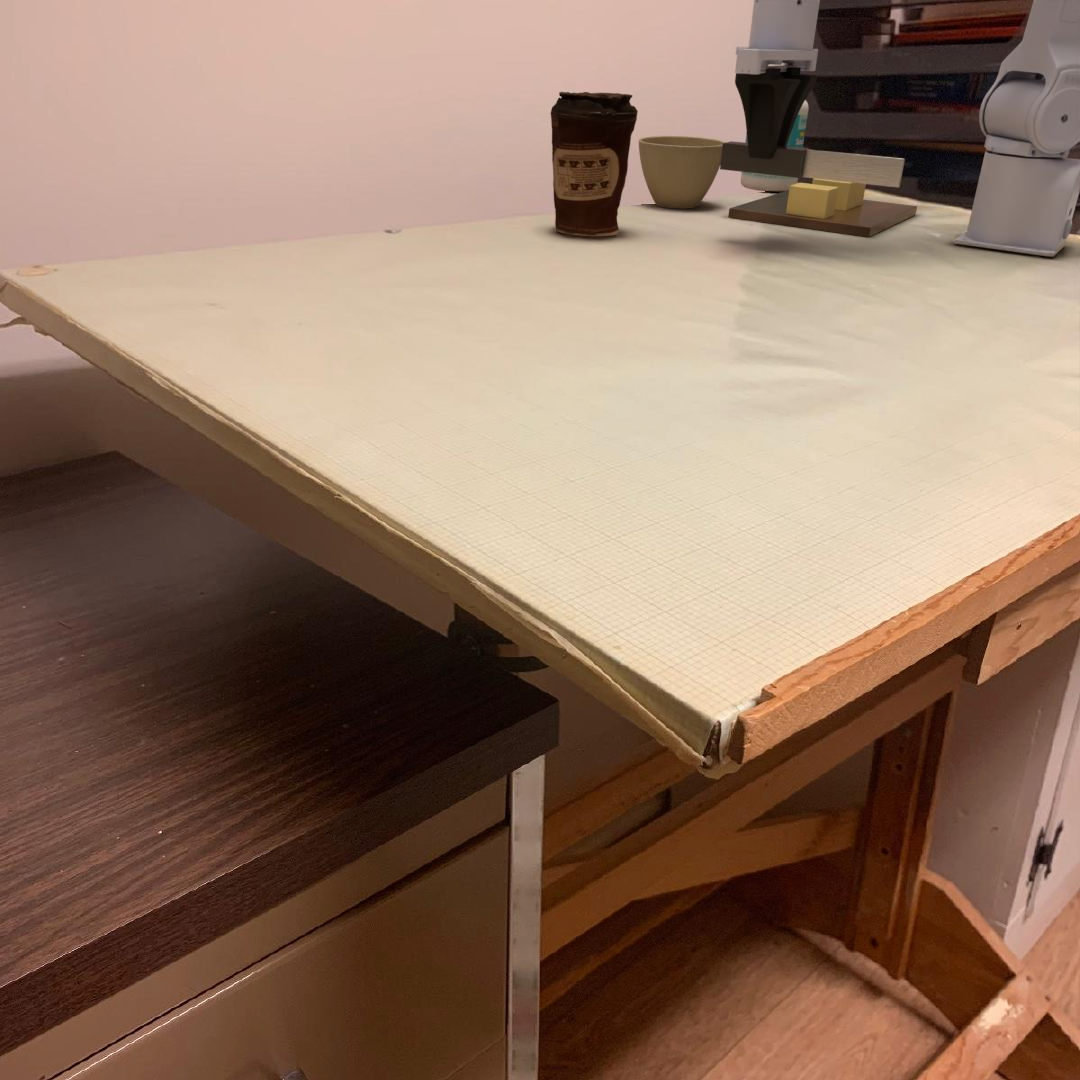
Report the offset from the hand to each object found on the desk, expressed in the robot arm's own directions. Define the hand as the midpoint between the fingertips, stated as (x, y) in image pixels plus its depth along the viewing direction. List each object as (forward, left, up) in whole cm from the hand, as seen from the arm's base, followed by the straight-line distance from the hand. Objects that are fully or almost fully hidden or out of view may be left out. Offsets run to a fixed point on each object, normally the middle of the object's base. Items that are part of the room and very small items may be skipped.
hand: (765, 157), depth 94 cm
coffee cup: (+15, +6, -8) cm, 19 cm away
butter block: (0, -24, -7) cm, 25 cm away
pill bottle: (+13, -37, -8) cm, 40 cm away
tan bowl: (+16, -16, -8) cm, 24 cm away
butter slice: (0, -15, -7) cm, 17 cm away
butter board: (0, -22, -8) cm, 23 cm away
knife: (-4, 0, -1) cm, 4 cm away
